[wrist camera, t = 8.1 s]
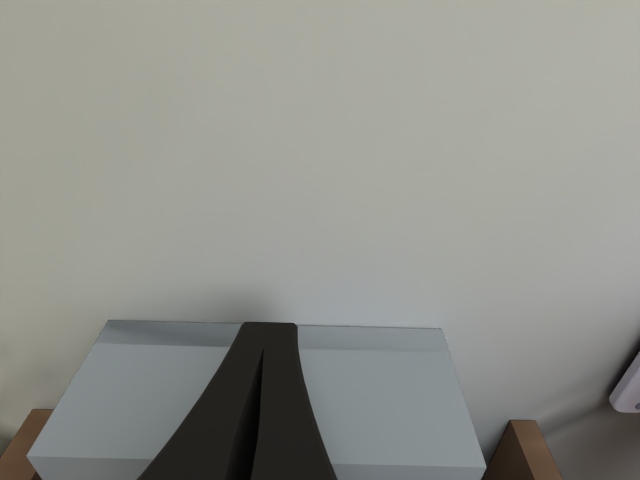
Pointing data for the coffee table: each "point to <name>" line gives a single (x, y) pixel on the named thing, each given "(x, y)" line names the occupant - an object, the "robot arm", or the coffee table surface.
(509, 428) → the wooden slatted crate
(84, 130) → the coffee table surface
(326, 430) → the tray
